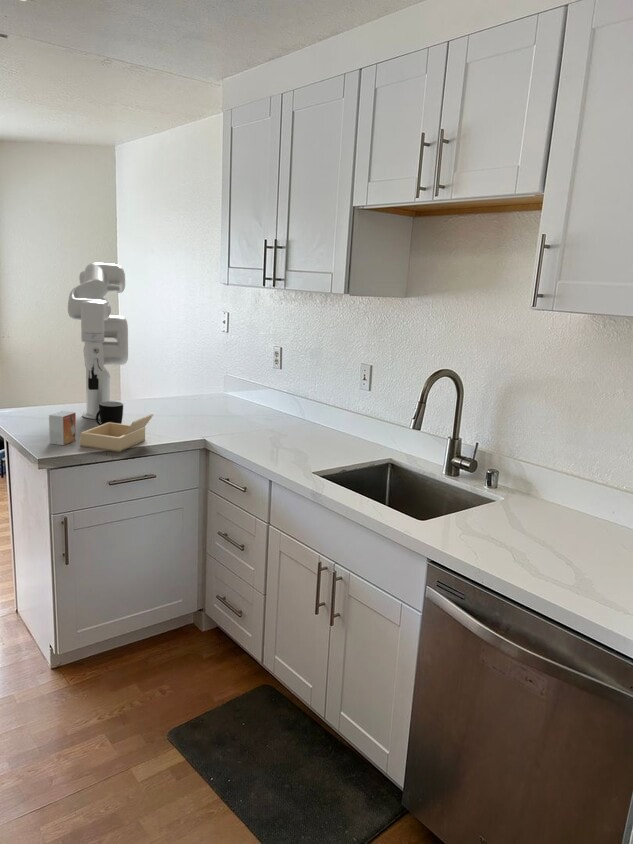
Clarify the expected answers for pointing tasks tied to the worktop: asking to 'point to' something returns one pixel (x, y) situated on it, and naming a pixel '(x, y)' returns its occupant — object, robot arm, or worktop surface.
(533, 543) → the worktop surface
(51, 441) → the small box
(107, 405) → the mug
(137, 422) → the flap
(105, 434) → the carton
